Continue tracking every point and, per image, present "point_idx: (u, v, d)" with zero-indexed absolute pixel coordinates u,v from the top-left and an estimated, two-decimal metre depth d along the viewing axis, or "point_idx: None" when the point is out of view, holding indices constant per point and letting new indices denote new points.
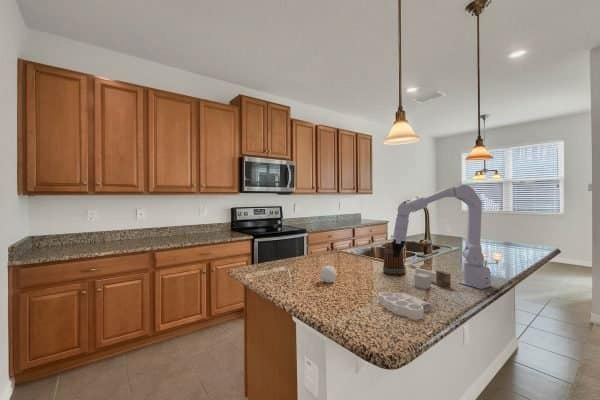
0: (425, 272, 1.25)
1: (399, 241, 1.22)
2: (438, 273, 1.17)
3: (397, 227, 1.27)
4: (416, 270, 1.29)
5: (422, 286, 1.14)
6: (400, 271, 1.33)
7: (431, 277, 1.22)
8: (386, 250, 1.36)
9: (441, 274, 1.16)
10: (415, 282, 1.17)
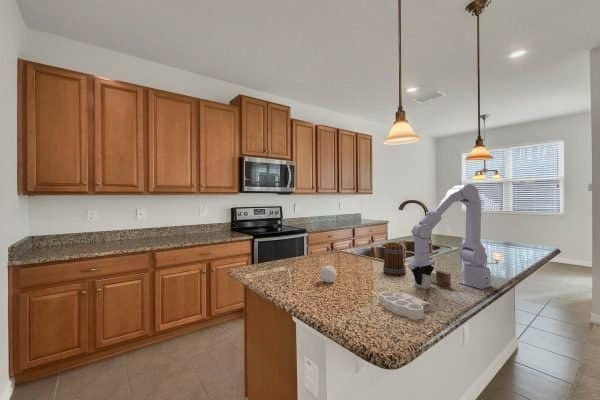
0: None
1: (411, 266, 1.13)
2: (438, 273, 1.17)
3: (420, 252, 1.14)
4: None
5: (422, 286, 1.14)
6: (400, 271, 1.33)
7: (431, 277, 1.22)
8: (386, 250, 1.36)
9: (441, 274, 1.16)
10: (415, 282, 1.17)
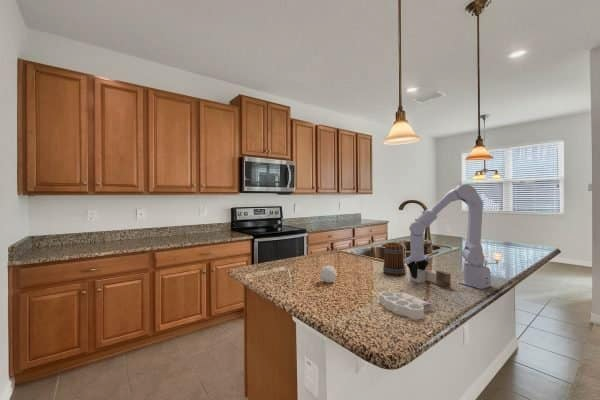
0: (425, 272, 1.25)
1: (407, 261, 1.21)
2: (438, 273, 1.17)
3: (413, 247, 1.23)
4: None
5: (417, 280, 1.22)
6: (400, 271, 1.33)
7: (431, 277, 1.22)
8: (386, 250, 1.36)
9: (441, 274, 1.16)
10: (411, 276, 1.25)
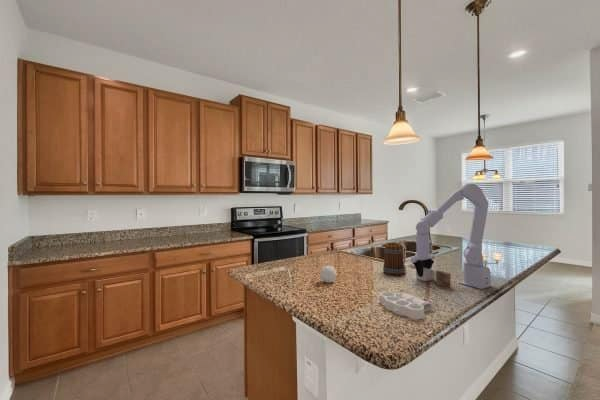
0: (431, 271, 1.26)
1: (413, 259, 1.23)
2: (438, 273, 1.17)
3: (419, 246, 1.25)
4: None
5: (423, 278, 1.24)
6: (400, 271, 1.33)
7: (434, 277, 1.23)
8: (386, 250, 1.36)
9: (441, 274, 1.16)
10: (417, 275, 1.27)
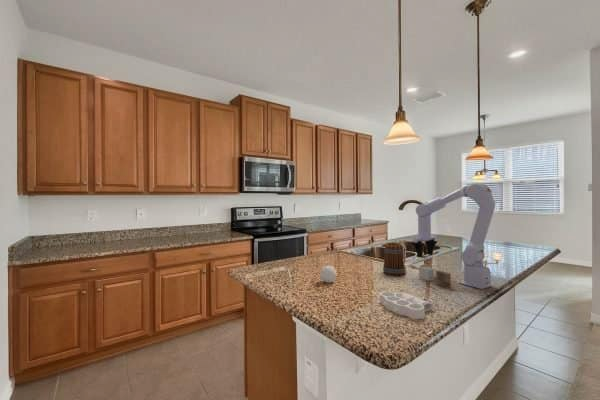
0: None
1: (415, 240, 1.31)
2: (438, 273, 1.17)
3: (419, 227, 1.34)
4: (435, 269, 1.30)
5: (426, 278, 1.25)
6: (400, 271, 1.33)
7: None
8: (386, 250, 1.36)
9: (441, 274, 1.16)
10: (420, 274, 1.28)
